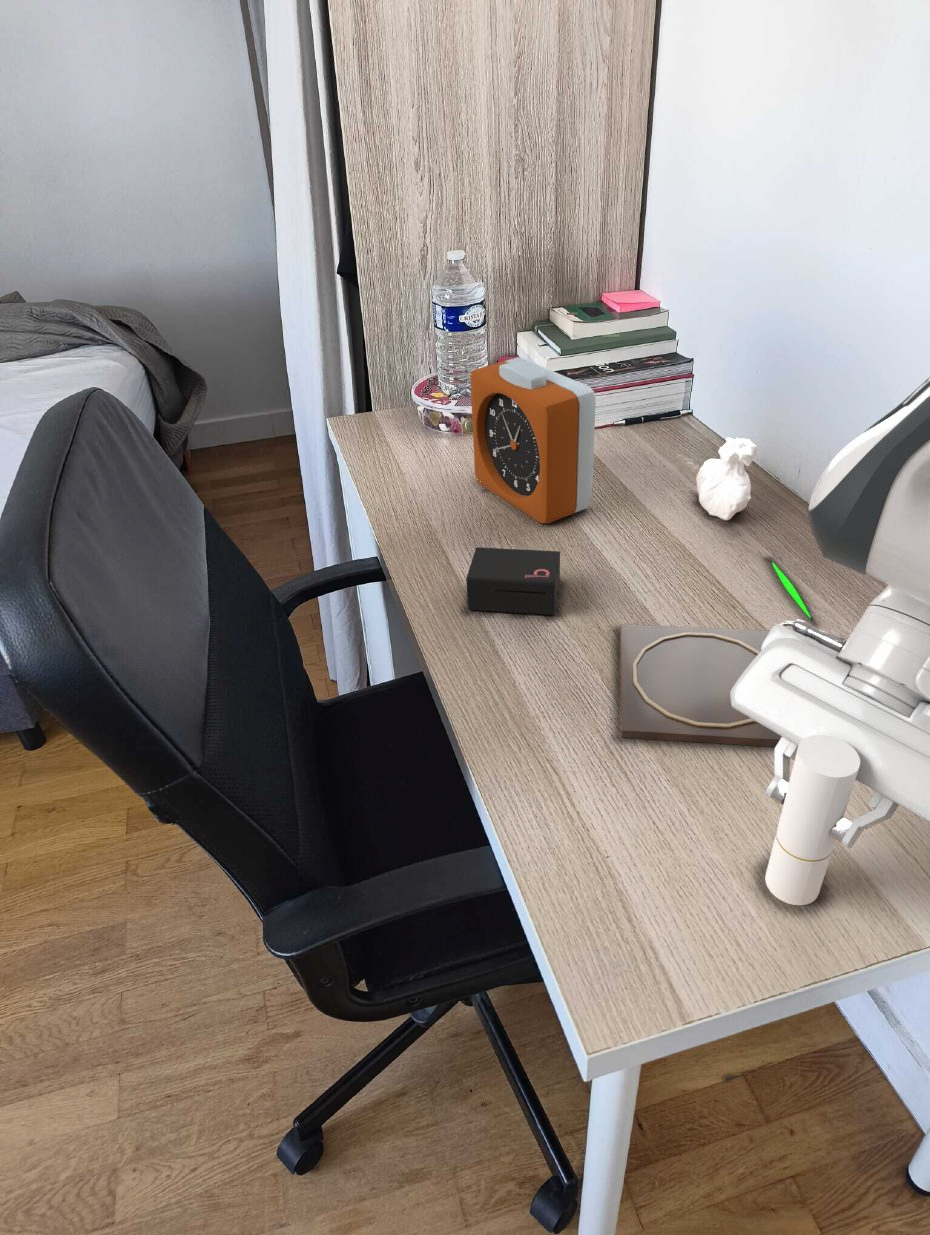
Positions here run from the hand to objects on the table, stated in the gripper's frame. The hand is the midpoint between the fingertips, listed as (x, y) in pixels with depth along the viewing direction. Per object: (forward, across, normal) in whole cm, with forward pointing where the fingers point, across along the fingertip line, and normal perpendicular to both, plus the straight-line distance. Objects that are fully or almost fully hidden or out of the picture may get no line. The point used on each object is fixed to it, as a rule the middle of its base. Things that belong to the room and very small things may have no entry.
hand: (807, 820), depth 65 cm
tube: (+6, 0, +6) cm, 9 cm away
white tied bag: (-29, -43, +41) cm, 66 cm away
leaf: (-21, -24, +33) cm, 46 cm away
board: (-5, -20, +17) cm, 27 cm away
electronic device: (-3, -47, +15) cm, 49 cm away
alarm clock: (-17, -65, +29) cm, 73 cm away
